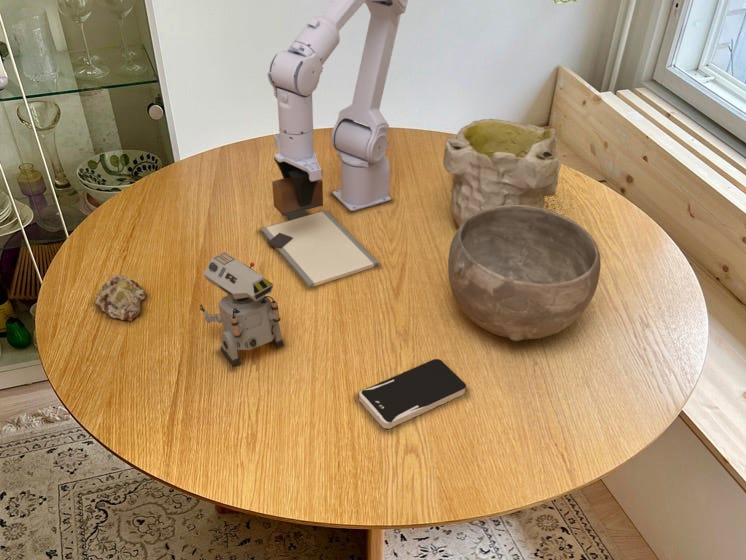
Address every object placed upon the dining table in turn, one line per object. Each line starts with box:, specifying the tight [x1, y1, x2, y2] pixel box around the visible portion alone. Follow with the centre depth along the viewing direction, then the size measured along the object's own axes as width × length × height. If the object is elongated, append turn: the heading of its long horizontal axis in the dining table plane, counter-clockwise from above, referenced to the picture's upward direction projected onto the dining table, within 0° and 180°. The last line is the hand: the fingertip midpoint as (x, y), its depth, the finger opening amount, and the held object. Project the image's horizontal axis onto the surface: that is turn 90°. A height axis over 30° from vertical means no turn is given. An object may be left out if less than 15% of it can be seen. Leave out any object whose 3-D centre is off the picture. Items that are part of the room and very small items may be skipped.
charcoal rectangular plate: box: [286, 210, 310, 221], centre depth 147 cm, size 4×3×1 cm
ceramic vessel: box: [442, 118, 562, 228], centre depth 141 cm, size 23×24×25 cm
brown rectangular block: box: [271, 177, 324, 217], centre depth 135 cm, size 8×4×5 cm, turn 121°
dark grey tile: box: [266, 233, 293, 249], centre depth 139 cm, size 4×3×1 cm
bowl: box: [447, 205, 602, 342], centre depth 122 cm, size 24×24×15 cm
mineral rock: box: [94, 274, 147, 322], centre depth 125 cm, size 11×4×8 cm
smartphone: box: [358, 358, 467, 430], centre depth 112 cm, size 8×1×15 cm
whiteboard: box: [260, 209, 379, 289], centre depth 139 cm, size 14×20×1 cm
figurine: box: [199, 251, 284, 368], centre depth 115 cm, size 9×12×15 cm
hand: (299, 198), depth 136 cm, fingers closed on brown rectangular block, 4 cm apart
